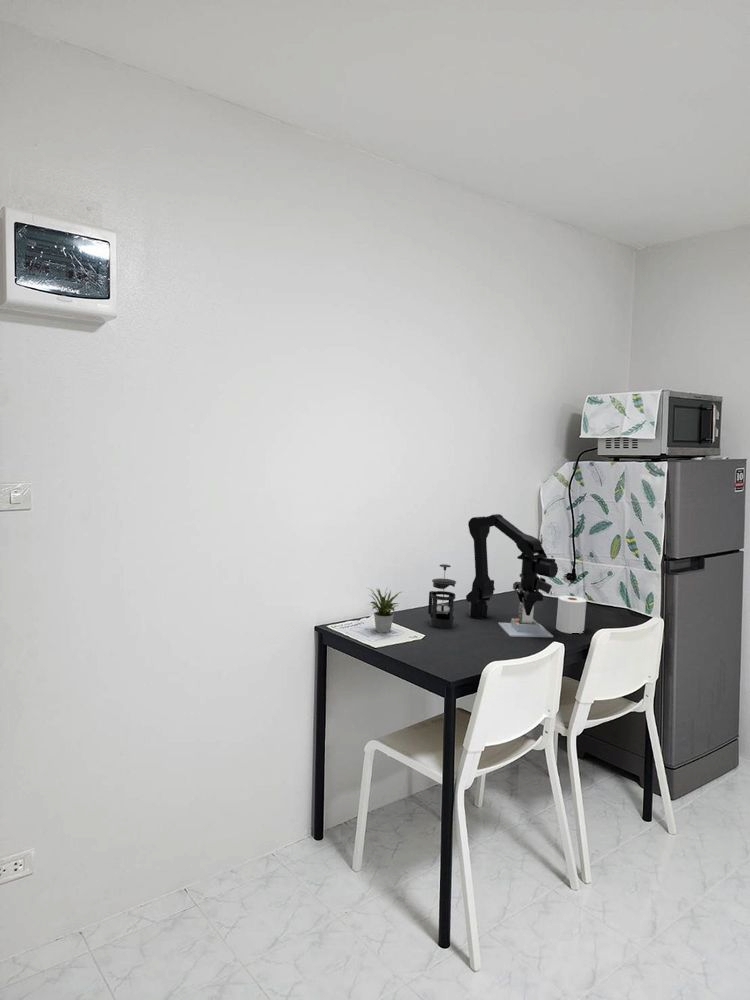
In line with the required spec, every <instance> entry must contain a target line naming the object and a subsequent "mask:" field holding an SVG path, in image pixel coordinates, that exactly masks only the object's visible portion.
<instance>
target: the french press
mask: <svg viewBox="0 0 750 1000" xmlns="http://www.w3.org/2000/svg"><path fill="white" fill-rule="evenodd" d="M439 567H441V568H443V571H444V572H443V578H433V579H432V587H433V588H435V589H440V590H437V591H436V590H435V591H434V590H431V591H430V590H429V591H428V593H429V594H428V605H427V606H428V609H427V611H428V612H427V613H428V615H429V624H428V625H429V626H430V627H432V628H435V629H441V630H442V629H443V630H447V629H452V628H454V627H455V624H454V623H455V621H454V620H455V617H454V610H455V609H454V601H455V600H456V594H455V593H453V592H450V591H445V589H447V588H449V586H450V587H453V588H455V586H456V584H457V581H456V580H454V579H449V578H446V571H447V568H450V567H451V565H449V564H446V563H445V564H444V563H443V564H439ZM439 595H441V596H439ZM438 600H439V601H442V603H441V604H442V605H438ZM444 601H448V605H444Z"/></svg>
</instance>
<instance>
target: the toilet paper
mask: <svg viewBox="0 0 750 1000" xmlns="http://www.w3.org/2000/svg"><path fill="white" fill-rule="evenodd" d="M586 611H587V599H585V598H584V597H580V596H575V595H560V596H558V600H557V610H556V612H557V613H556V622H555V624H556V625H555V629H556V630H558V631H559V632H561V633H565V634H572V633H579V634H583V633H584V632H585V623H586ZM583 631H584V632H583Z"/></svg>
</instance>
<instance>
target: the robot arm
mask: <svg viewBox="0 0 750 1000" xmlns="http://www.w3.org/2000/svg"><path fill="white" fill-rule="evenodd" d="M467 525H468V531H469V534H470V536H471V538H472V539H473V549H474V550H473V551H474V569H475V572H474V573H475V576H474V579H473V581H472V585H471V591H470V592H469V593H467V594H466V595H465V598H466V602H469V603H468V612H467V615H468V616H469V617H470V619H487V618H488V617H487V616H488V609H489V608H488V607H489V605H488V604H487V602H489V601H490V600H491V598H492V596H493V595H494V592H495V590H496V589H495V579H491V577H490V576H489V566H488V563H489V562H488V561H489V560H488V546H487V545H488V544H487V538H488V537H489V535H490V531H491V530H490V528H491V527H494V528H496V529H497V530H498V531H500V532H502V533H503V534H504V535H505V536H506V537H507V538H509V539H510V540H511V541H513V542H514V543H515V544H516V547H517V549H518V550H519V551H520V552H521V554H520V555H518V556H517V559H518V560H521V573H519V577H520V581H515V582H514V583H513V584H512V589H513V591H515V594H516V596H517V599H518V601H519V603H520V602H523V604H524V608H525V612H526V615H527V616H529V615H530V613H531V610H532V608H533V605H534V606H535V603H536V602H544V600H545V599H544V594H543V593H542V592H544V593H546V594H548V595H549V594H550V592H551V590H552V589H553V585H551V584H550V583H548V582H546V581H547V580H546V579H545V578H543V577H547V578H552V579H553V578H555V577H556V576H557V575H558V571H559V567H558V564H557V562H556V558H552V557H551V558H550V557H548V556H547V554H546V551H545V549H544V547H543V546H542V545H543V544H542V542H541V540H540V539H538V538H537V537H535V536H532V535H530V534H527V533H524V532H523V531H522V530H520V529H519V528H517V526H515V525H514V524H512V523H511V522H510V521H509V520H508V519H506V518H504V517H503V515H502V514H498V513H497V514H495V513H494V514H491V515H488V516H475V517H473V516H472V517H470V519H469V520H468V524H467ZM539 576H541V577H539ZM540 591H542V592H540Z"/></svg>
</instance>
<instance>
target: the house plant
mask: <svg viewBox="0 0 750 1000" xmlns="http://www.w3.org/2000/svg"><path fill="white" fill-rule="evenodd" d="M367 589H369V590H370V591H371V594H372V595H373V596H372V595H370V594H369V596H370V597H371V598H372V599H373V600H374V601H370V602H369V604H367V605H370V606H372V609H371V610H372V611H373V610H374V609H375V610H376V611H375V612H374V613H373V615H374V624H375V631H376V630H377V631H379V632H378V633H380V632H388V633H390V632H391V629H392V624H393V619H394V616H395V614H394V612H395V608H396V607H399V605H398V604H400V603H398V602H393V601H394V599H395V598H396V597H398V595H399V594H401V593H403V591H399V592H398V593H396V594H395V595H394V596H391V593H392V590H389V593H387V589H388V586H387V587H386V589H385V591H384V596H383V595H382V594H381V593H382V592H381V590H380V588H376V592H377V594H378V596H377V595H376V594H375V591H374V590H372V589H371V588H368V587H367ZM387 594H388V595H387ZM390 597H391V598H390ZM379 598H380V599H379ZM386 598H387V599H386ZM391 611H392V612H391ZM377 631H376V632H377ZM389 631H390V632H389Z"/></svg>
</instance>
